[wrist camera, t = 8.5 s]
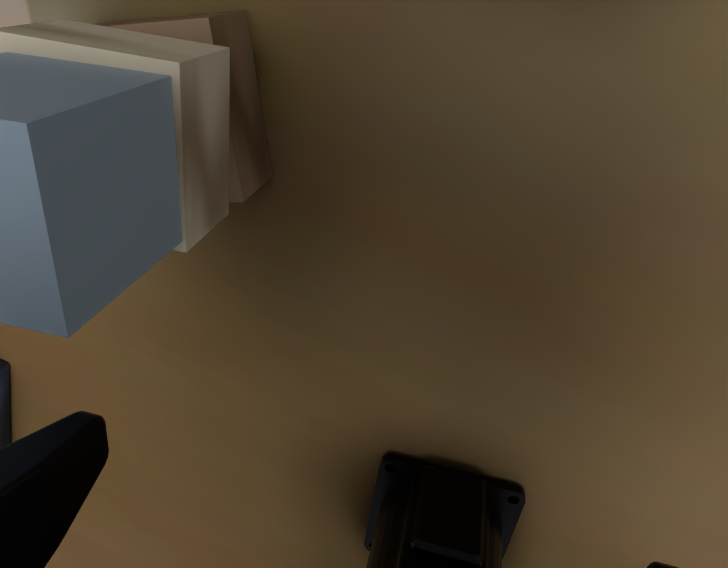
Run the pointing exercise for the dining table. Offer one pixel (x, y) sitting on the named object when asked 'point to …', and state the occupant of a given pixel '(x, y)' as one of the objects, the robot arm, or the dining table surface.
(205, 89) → the tower mid
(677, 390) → the dining table surface
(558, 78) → the dining table surface
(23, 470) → the robot arm
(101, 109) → the blue cube
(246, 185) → the tower base
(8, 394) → the small box
